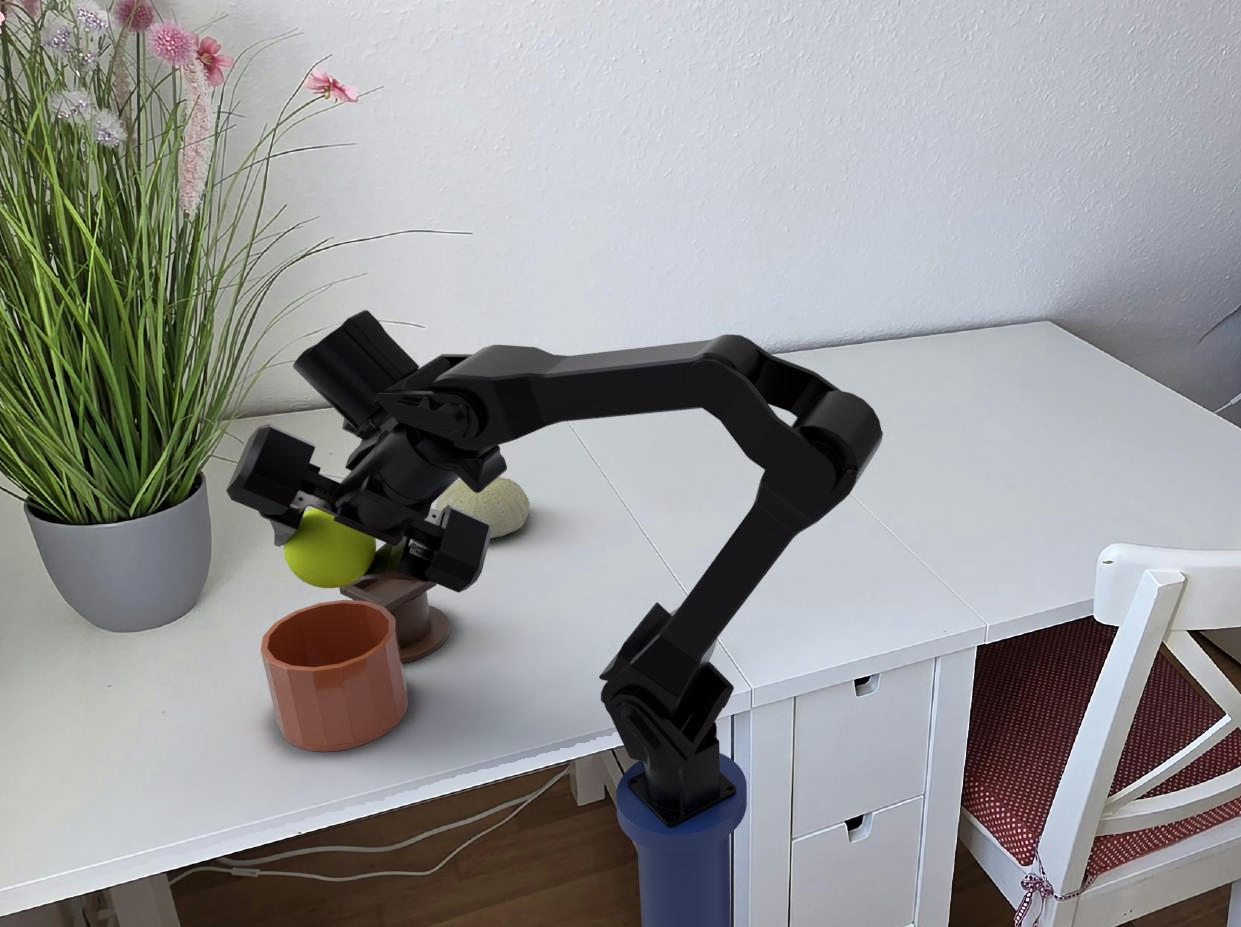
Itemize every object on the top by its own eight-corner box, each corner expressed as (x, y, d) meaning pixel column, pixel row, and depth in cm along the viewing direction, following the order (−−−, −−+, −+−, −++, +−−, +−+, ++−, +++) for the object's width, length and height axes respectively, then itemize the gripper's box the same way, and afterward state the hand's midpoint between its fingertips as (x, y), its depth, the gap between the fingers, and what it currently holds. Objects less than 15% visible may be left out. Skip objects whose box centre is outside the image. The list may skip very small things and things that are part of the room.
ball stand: (471, 628, 113) (464, 575, 110) (390, 678, 106) (380, 622, 103) (402, 597, 116) (394, 545, 113) (319, 643, 109) (308, 589, 106)
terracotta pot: (427, 719, 101) (414, 640, 98) (305, 768, 95) (286, 686, 91) (380, 663, 107) (367, 587, 103) (262, 707, 101) (243, 627, 97)
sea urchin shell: (455, 542, 122) (431, 468, 123) (444, 564, 128) (422, 494, 129) (545, 520, 127) (521, 449, 128) (531, 542, 133) (509, 474, 134)
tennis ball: (327, 480, 100) (336, 499, 94) (388, 534, 103) (400, 555, 98) (261, 538, 98) (266, 560, 93) (325, 590, 101) (334, 615, 96)
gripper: (544, 441, 101) (450, 526, 109) (318, 327, 90) (233, 430, 99) (519, 550, 94) (420, 632, 102) (271, 440, 83) (184, 541, 92)
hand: (320, 557), depth 99 cm, fingers closed on tennis ball, 6 cm apart
